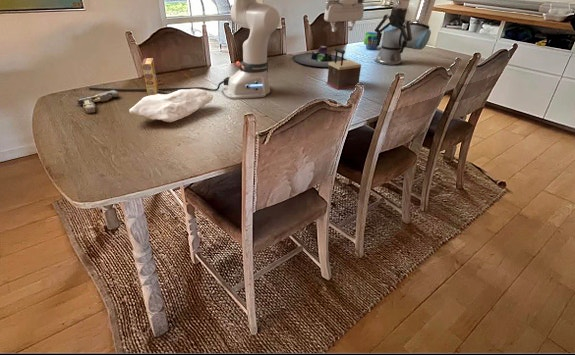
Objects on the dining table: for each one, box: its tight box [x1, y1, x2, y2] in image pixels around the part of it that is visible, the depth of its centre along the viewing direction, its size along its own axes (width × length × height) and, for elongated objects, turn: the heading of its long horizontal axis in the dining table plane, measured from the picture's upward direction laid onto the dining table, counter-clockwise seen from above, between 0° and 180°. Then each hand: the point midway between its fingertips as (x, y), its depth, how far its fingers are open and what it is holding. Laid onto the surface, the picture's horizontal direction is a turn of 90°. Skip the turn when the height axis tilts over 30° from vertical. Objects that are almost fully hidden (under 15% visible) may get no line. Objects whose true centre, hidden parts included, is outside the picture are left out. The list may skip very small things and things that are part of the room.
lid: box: [328, 47, 362, 70], centre depth 181 cm, size 13×10×9 cm
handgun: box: [76, 90, 120, 114], centre depth 155 cm, size 3×18×15 cm
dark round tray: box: [291, 45, 347, 68], centre depth 225 cm, size 35×35×9 cm
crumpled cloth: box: [129, 89, 214, 123], centre depth 147 cm, size 24×35×9 cm
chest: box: [326, 65, 362, 90], centre depth 186 cm, size 13×10×10 cm
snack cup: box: [363, 31, 378, 50], centre depth 257 cm, size 16×10×10 cm
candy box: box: [141, 57, 160, 96], centre depth 163 cm, size 9×4×15 cm, turn 13°
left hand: (342, 30), depth 173 cm, fingers open, 8 cm apart
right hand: (389, 49), depth 197 cm, fingers open, 13 cm apart
